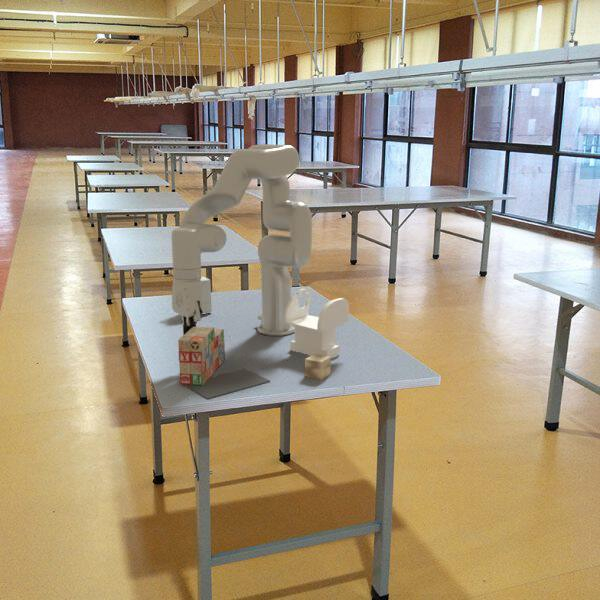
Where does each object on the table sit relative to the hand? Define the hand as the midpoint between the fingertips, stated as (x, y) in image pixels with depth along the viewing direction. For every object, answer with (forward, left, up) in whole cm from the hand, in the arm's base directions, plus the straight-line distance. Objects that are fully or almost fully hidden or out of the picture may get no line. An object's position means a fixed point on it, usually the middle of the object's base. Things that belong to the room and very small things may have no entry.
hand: (190, 338), depth 190 cm
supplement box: (-47, +30, -8) cm, 57 cm away
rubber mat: (+18, +1, -8) cm, 20 cm away
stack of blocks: (+7, 0, -8) cm, 11 cm away
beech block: (+28, +23, -8) cm, 37 cm away
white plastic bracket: (+13, +35, -8) cm, 38 cm away
